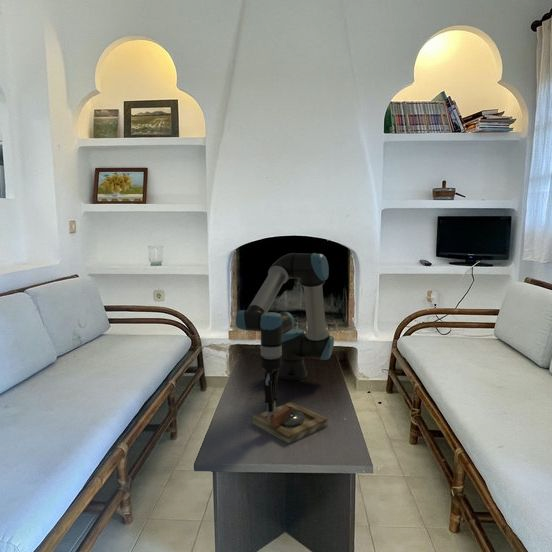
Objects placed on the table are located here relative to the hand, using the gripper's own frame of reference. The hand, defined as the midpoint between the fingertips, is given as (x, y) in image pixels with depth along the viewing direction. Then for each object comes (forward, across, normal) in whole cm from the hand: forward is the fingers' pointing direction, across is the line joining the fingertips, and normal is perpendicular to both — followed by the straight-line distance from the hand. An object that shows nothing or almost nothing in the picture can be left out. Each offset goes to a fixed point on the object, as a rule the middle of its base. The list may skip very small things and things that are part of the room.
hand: (271, 418), depth 152 cm
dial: (+3, -4, +5) cm, 7 cm away
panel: (+5, -6, +6) cm, 10 cm away
